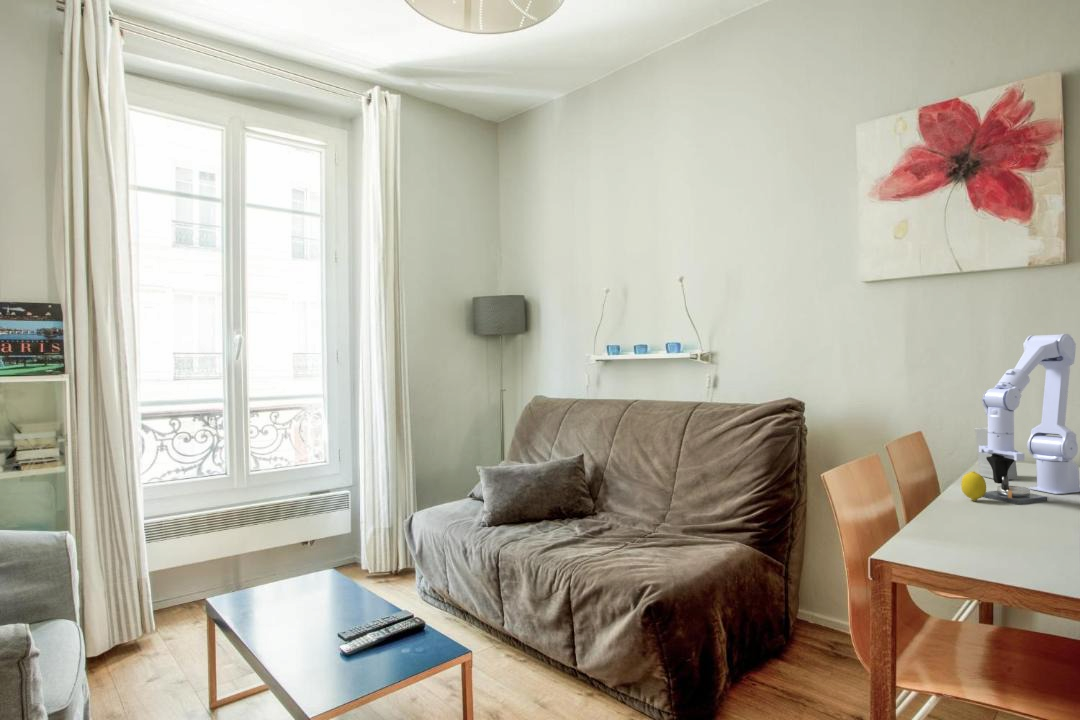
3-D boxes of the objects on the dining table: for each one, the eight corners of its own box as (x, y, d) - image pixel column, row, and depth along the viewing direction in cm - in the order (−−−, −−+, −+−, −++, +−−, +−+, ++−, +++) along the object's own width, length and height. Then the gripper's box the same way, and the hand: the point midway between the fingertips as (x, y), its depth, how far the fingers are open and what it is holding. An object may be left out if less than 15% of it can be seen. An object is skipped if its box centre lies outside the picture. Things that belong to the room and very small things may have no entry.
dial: (992, 490, 170) (991, 472, 170) (1021, 491, 168) (1020, 472, 168) (1005, 496, 163) (1004, 477, 163) (1035, 496, 161) (1035, 477, 161)
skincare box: (1018, 480, 188) (1016, 428, 188) (994, 480, 189) (992, 429, 189) (998, 474, 197) (996, 425, 197) (975, 475, 197) (974, 426, 197)
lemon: (978, 498, 167) (977, 469, 167) (991, 503, 162) (990, 473, 162) (957, 498, 168) (956, 469, 168) (969, 503, 162) (968, 473, 162)
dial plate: (1010, 493, 172) (1009, 482, 172) (1047, 501, 162) (1046, 489, 162) (981, 496, 169) (981, 485, 169) (1017, 504, 159) (1017, 493, 160)
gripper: (967, 429, 173) (967, 477, 173) (1004, 436, 158) (1004, 488, 159) (993, 429, 173) (993, 478, 173) (1032, 436, 158) (1032, 489, 158)
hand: (1000, 483), depth 166 cm, fingers closed, pressing on dial
